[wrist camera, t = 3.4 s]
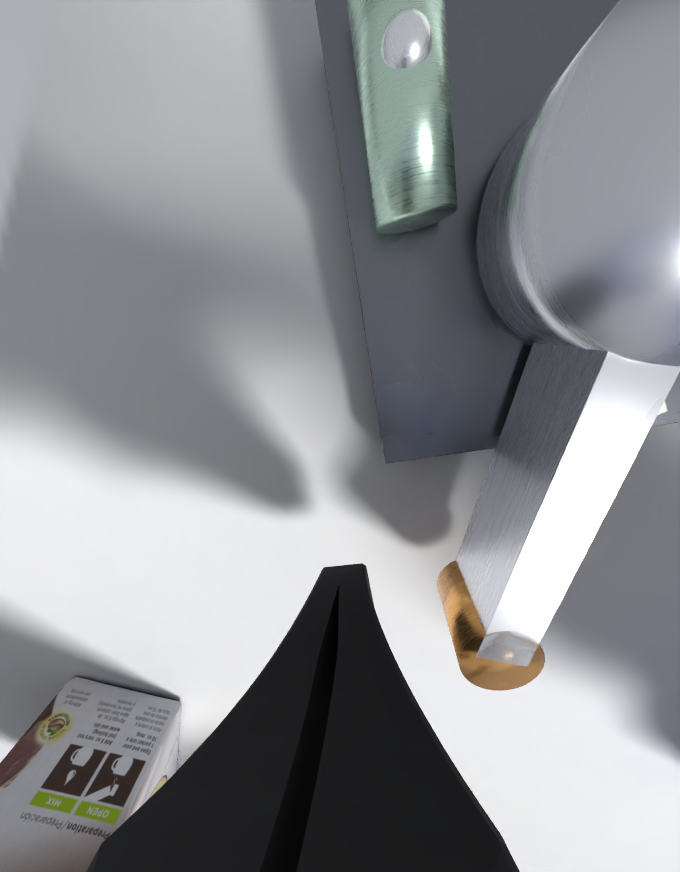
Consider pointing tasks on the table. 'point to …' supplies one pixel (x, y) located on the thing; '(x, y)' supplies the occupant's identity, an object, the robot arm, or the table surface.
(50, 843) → the coffee box
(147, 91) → the table surface
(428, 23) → the plate
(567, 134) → the silver pan
